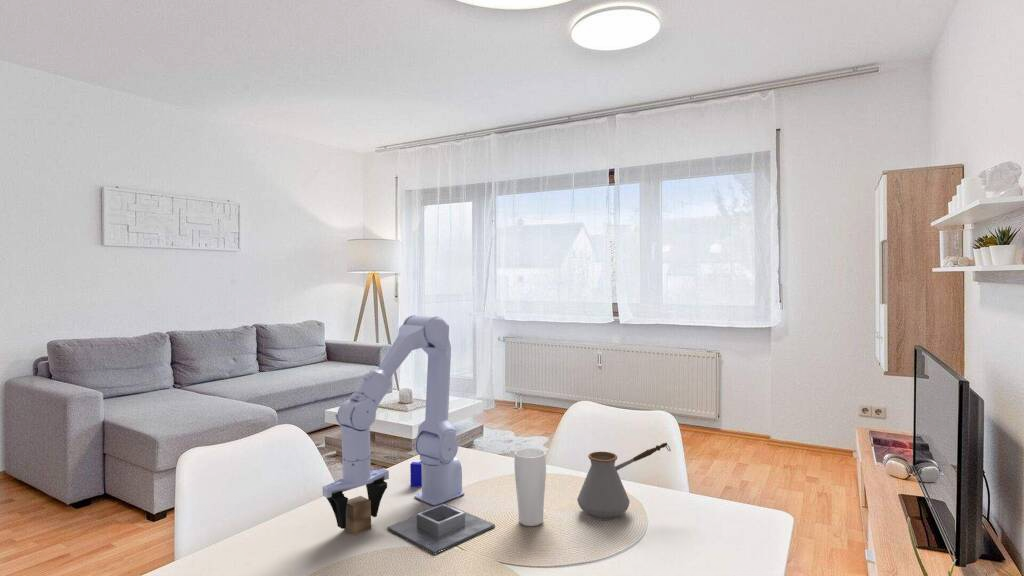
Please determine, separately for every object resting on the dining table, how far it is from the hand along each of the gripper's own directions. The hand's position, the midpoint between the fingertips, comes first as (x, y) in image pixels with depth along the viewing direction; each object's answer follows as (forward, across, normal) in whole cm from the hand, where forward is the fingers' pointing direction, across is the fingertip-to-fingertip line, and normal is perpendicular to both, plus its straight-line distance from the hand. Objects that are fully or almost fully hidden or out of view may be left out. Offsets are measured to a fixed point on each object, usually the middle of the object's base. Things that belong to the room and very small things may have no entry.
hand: (357, 521), depth 117 cm
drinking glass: (+2, -27, +25) cm, 37 cm away
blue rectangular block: (+2, -27, -14) cm, 31 cm away
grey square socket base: (+2, -12, +13) cm, 18 cm away
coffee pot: (+2, -45, +37) cm, 58 cm away
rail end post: (+2, 0, 0) cm, 2 cm away
